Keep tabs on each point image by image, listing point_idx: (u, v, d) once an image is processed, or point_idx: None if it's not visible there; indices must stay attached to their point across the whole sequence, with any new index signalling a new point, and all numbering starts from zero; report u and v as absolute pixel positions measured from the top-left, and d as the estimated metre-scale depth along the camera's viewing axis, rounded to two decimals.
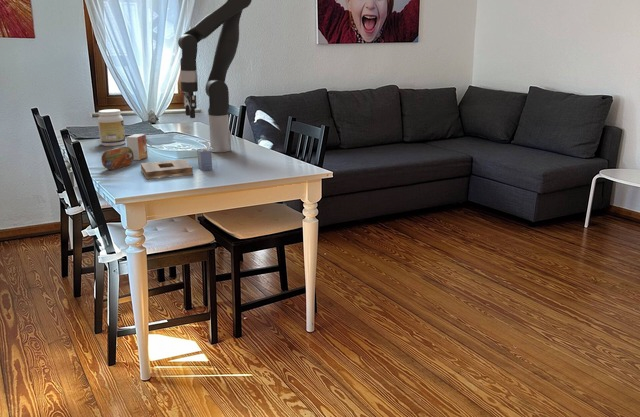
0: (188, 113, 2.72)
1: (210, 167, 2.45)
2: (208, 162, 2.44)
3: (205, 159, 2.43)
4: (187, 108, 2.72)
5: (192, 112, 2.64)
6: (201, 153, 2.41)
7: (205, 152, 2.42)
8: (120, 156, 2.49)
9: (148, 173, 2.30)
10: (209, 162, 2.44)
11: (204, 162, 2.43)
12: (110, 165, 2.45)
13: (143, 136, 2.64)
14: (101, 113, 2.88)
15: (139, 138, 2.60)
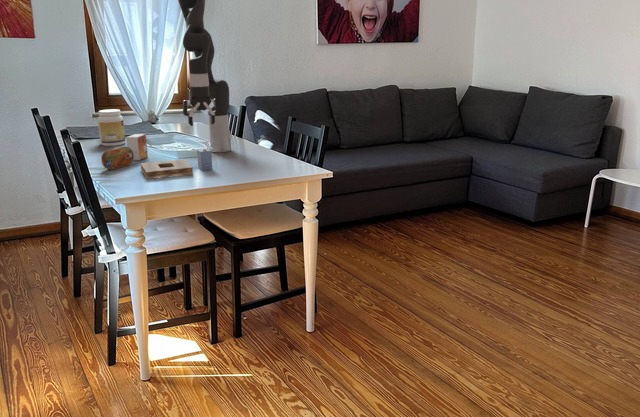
0: None
1: (210, 167, 2.45)
2: (208, 162, 2.44)
3: (205, 159, 2.43)
4: None
5: None
6: (201, 153, 2.41)
7: (205, 152, 2.42)
8: (120, 156, 2.49)
9: (148, 173, 2.30)
10: (209, 162, 2.44)
11: (204, 162, 2.43)
12: (110, 166, 2.45)
13: (143, 136, 2.64)
14: (101, 113, 2.88)
15: (139, 138, 2.60)
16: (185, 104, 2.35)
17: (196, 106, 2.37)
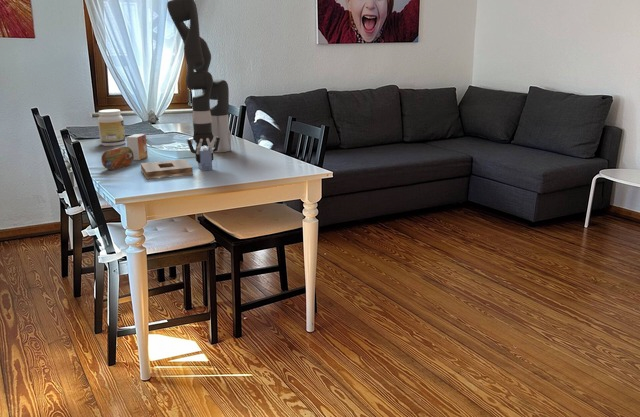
0: None
1: (210, 167, 2.45)
2: (208, 162, 2.44)
3: (205, 159, 2.43)
4: None
5: None
6: (201, 153, 2.41)
7: (205, 152, 2.42)
8: (120, 156, 2.49)
9: (148, 173, 2.30)
10: (209, 162, 2.44)
11: (204, 162, 2.43)
12: (110, 165, 2.45)
13: (143, 136, 2.64)
14: (101, 113, 2.88)
15: (139, 138, 2.60)
16: (189, 143, 2.40)
17: (200, 142, 2.41)
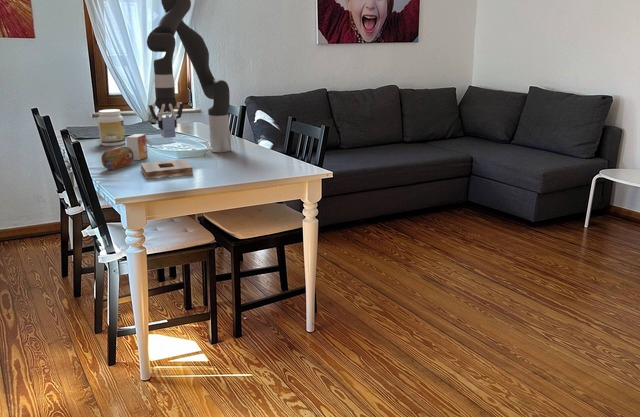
0: (162, 127, 2.35)
1: (173, 134, 2.34)
2: (171, 129, 2.33)
3: (168, 126, 2.32)
4: (161, 121, 2.34)
5: None
6: (163, 119, 2.31)
7: (168, 118, 2.32)
8: (120, 156, 2.49)
9: (148, 173, 2.30)
10: (172, 129, 2.33)
11: (167, 129, 2.32)
12: (110, 165, 2.45)
13: (143, 136, 2.64)
14: (101, 113, 2.88)
15: (139, 138, 2.60)
16: (151, 108, 2.30)
17: (162, 108, 2.31)
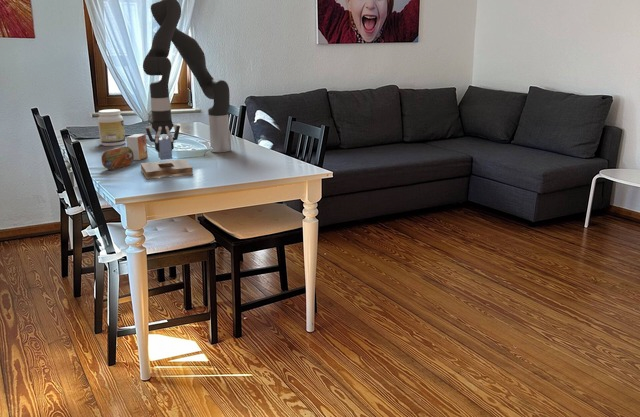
0: None
1: (170, 156, 2.36)
2: (168, 151, 2.36)
3: (164, 148, 2.35)
4: (158, 143, 2.36)
5: None
6: (160, 141, 2.33)
7: (164, 140, 2.34)
8: (120, 156, 2.49)
9: (148, 173, 2.30)
10: (169, 151, 2.36)
11: (163, 151, 2.35)
12: (110, 165, 2.45)
13: (143, 136, 2.64)
14: (101, 113, 2.88)
15: (139, 138, 2.60)
16: (148, 131, 2.32)
17: (159, 131, 2.33)
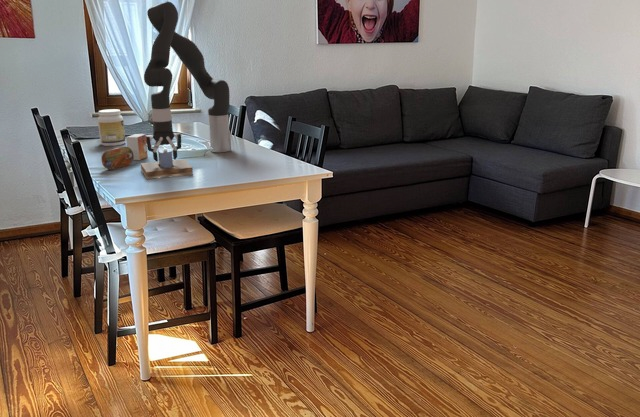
0: None
1: None
2: (169, 163, 2.37)
3: (165, 161, 2.36)
4: (156, 153, 2.37)
5: None
6: (161, 154, 2.35)
7: (165, 153, 2.35)
8: (120, 156, 2.49)
9: (148, 173, 2.30)
10: (170, 163, 2.37)
11: (164, 163, 2.36)
12: (110, 165, 2.45)
13: (143, 136, 2.64)
14: (101, 113, 2.88)
15: (139, 138, 2.60)
16: (148, 140, 2.33)
17: (159, 141, 2.34)
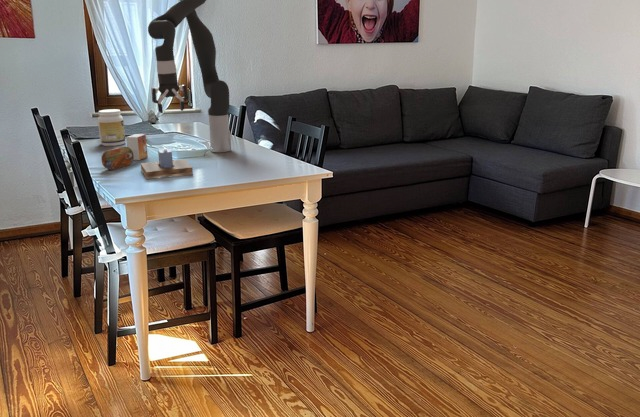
0: None
1: None
2: (169, 163, 2.37)
3: (165, 161, 2.36)
4: None
5: None
6: (161, 154, 2.35)
7: (165, 153, 2.35)
8: (120, 156, 2.49)
9: (148, 173, 2.30)
10: (170, 163, 2.37)
11: (164, 163, 2.36)
12: (110, 165, 2.45)
13: (143, 136, 2.64)
14: (101, 113, 2.88)
15: (139, 138, 2.60)
16: (154, 91, 2.38)
17: (165, 93, 2.40)
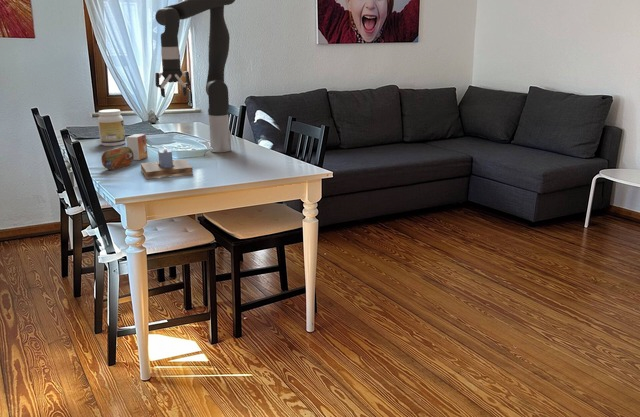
0: (164, 94, 2.51)
1: None
2: (169, 163, 2.37)
3: (165, 161, 2.36)
4: (164, 89, 2.50)
5: None
6: (161, 154, 2.35)
7: (165, 153, 2.35)
8: (120, 156, 2.49)
9: (148, 173, 2.30)
10: (170, 163, 2.37)
11: (164, 163, 2.36)
12: (110, 165, 2.45)
13: (143, 136, 2.64)
14: (101, 113, 2.88)
15: (139, 138, 2.60)
16: (157, 76, 2.47)
17: (168, 78, 2.48)
